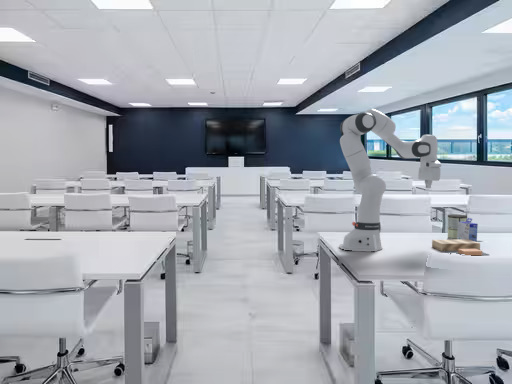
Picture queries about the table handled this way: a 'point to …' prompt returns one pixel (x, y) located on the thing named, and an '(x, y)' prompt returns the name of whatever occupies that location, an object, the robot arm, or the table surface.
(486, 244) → the table surface
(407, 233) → the table surface
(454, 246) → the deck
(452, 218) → the coffee can
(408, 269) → the table surface
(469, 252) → the block
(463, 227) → the ink cartridge box
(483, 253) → the mat
